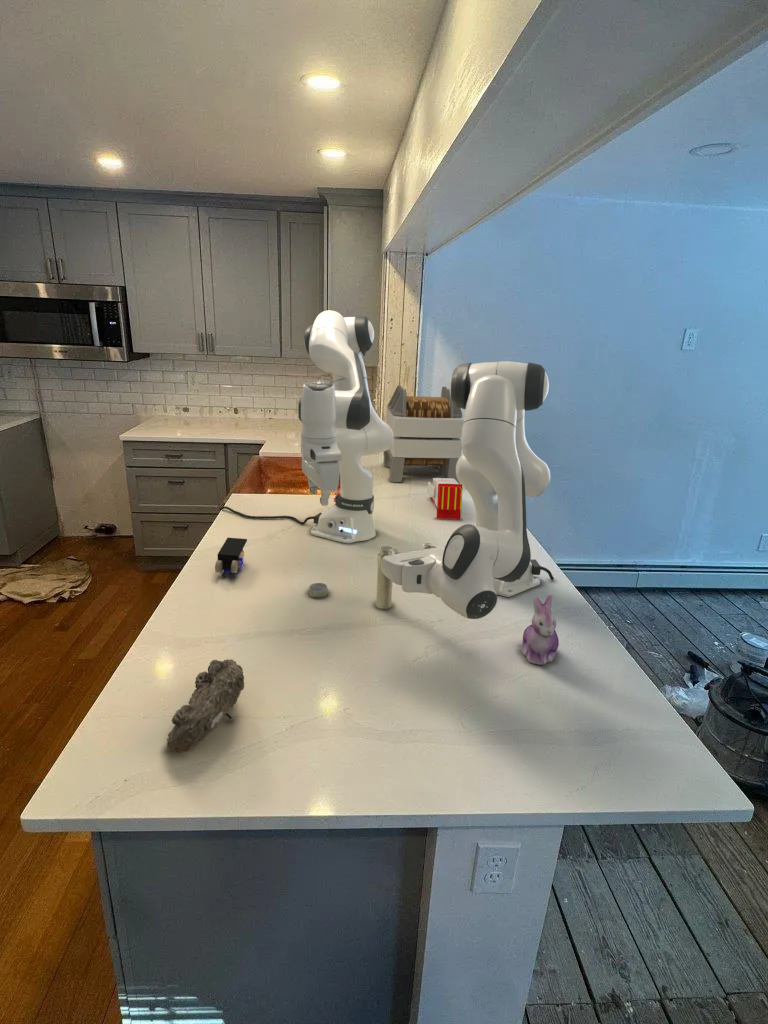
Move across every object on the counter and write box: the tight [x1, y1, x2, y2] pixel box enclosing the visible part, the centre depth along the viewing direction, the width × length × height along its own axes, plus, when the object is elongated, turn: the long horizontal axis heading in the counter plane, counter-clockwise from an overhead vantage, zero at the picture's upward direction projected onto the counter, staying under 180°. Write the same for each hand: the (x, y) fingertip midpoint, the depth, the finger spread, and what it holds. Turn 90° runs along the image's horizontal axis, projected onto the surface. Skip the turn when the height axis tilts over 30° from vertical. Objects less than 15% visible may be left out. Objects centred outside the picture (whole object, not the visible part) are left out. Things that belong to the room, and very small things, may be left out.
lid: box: [308, 582, 328, 599], centre depth 156 cm, size 5×5×2 cm
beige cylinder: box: [375, 545, 394, 610], centre depth 149 cm, size 4×4×17 cm
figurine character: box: [214, 537, 248, 578], centre depth 166 cm, size 7×8×15 cm
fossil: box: [166, 658, 245, 754], centre depth 106 cm, size 22×10×15 cm
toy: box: [427, 477, 464, 520], centre depth 227 cm, size 12×13×30 cm
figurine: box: [521, 594, 560, 666], centre depth 130 cm, size 9×10×15 cm
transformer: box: [383, 384, 464, 484], centre depth 268 cm, size 34×33×41 cm
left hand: (318, 499), depth 147 cm, fingers open, 8 cm apart
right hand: (408, 549), depth 135 cm, fingers open, 8 cm apart
